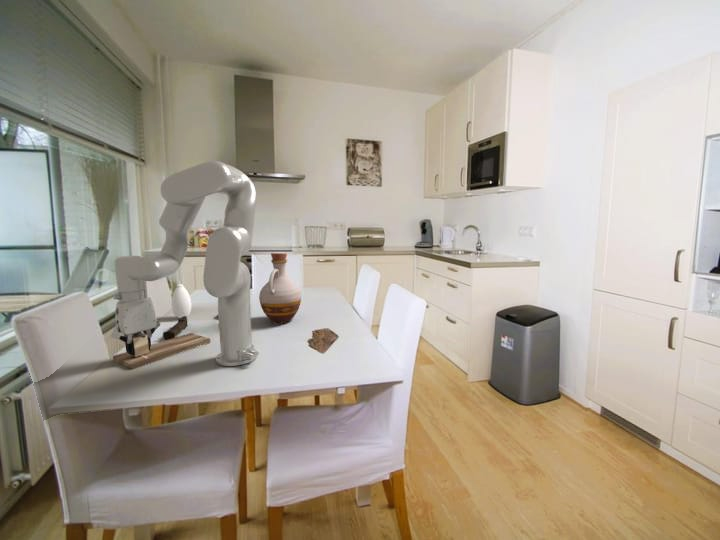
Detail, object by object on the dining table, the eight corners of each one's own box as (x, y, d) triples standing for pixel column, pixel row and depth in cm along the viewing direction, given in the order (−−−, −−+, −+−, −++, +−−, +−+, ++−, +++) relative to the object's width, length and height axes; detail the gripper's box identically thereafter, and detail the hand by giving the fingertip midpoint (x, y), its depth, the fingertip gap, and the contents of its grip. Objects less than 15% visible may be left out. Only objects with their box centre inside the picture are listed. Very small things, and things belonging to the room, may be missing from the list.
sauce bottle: (173, 321, 148) (170, 281, 146) (172, 317, 155) (168, 278, 152) (193, 319, 153) (190, 279, 150) (191, 314, 159) (188, 276, 156)
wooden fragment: (313, 329, 139) (313, 326, 139) (340, 329, 139) (340, 326, 139) (302, 354, 114) (302, 351, 113) (335, 354, 114) (335, 351, 113)
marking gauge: (152, 354, 109) (150, 331, 107) (138, 358, 105) (136, 335, 104) (139, 348, 113) (137, 327, 112) (126, 353, 109) (123, 330, 108)
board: (210, 342, 124) (210, 338, 123) (132, 369, 102) (131, 364, 102) (191, 336, 130) (190, 332, 130) (113, 360, 108) (112, 355, 108)
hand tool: (174, 341, 126) (173, 329, 125) (163, 341, 125) (161, 329, 125) (193, 325, 144) (193, 314, 144) (184, 325, 144) (183, 315, 143)
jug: (292, 329, 138) (289, 255, 133) (251, 327, 140) (247, 255, 136) (307, 315, 157) (305, 250, 152) (270, 314, 160) (267, 250, 155)
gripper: (107, 302, 97) (115, 363, 100) (166, 292, 111) (171, 345, 114) (96, 299, 101) (103, 358, 104) (154, 289, 115) (159, 341, 118)
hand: (139, 351), depth 109 cm, fingers closed on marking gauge, 4 cm apart
